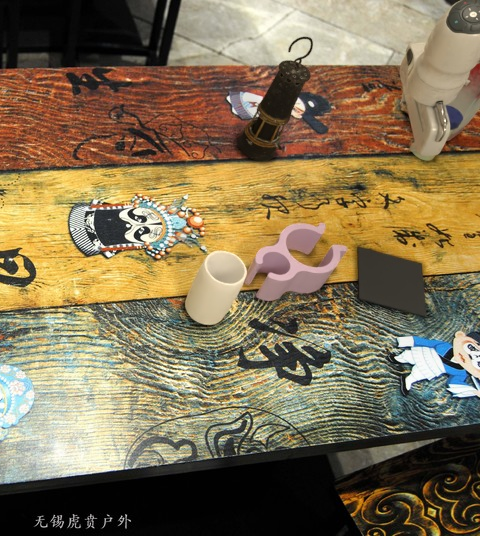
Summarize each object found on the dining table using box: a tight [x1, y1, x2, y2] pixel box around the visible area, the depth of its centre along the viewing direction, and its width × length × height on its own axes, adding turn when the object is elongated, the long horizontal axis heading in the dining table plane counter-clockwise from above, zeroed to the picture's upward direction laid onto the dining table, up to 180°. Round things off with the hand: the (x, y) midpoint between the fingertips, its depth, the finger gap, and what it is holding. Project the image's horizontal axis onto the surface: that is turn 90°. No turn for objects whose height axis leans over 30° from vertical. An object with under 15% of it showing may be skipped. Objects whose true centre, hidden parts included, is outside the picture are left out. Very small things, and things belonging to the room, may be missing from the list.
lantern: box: [237, 36, 314, 162], centre depth 160 cm, size 9×9×30 cm
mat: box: [357, 246, 427, 318], centre depth 153 cm, size 14×14×1 cm
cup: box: [184, 250, 248, 326], centre depth 136 cm, size 8×8×14 cm
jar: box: [411, 129, 455, 162], centre depth 175 cm, size 6×6×12 cm
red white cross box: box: [403, 63, 480, 142], centre depth 176 cm, size 14×10×30 cm
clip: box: [243, 222, 348, 302], centre depth 148 cm, size 20×12×7 cm, turn 122°
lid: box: [446, 105, 463, 130], centre depth 171 cm, size 6×6×2 cm
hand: (408, 127), depth 141 cm, fingers open, 8 cm apart
